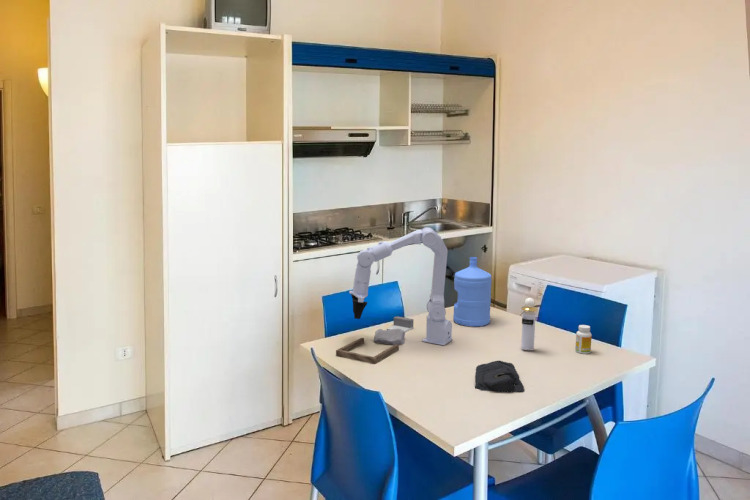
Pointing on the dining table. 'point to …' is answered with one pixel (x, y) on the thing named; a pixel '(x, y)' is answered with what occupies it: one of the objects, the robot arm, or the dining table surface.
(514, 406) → the dining table surface
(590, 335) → the supplement bottle
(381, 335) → the stone block
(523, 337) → the perfume bottle
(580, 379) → the dining table surface
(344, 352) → the dock
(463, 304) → the water jug
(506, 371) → the crumpled black cloth
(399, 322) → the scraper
